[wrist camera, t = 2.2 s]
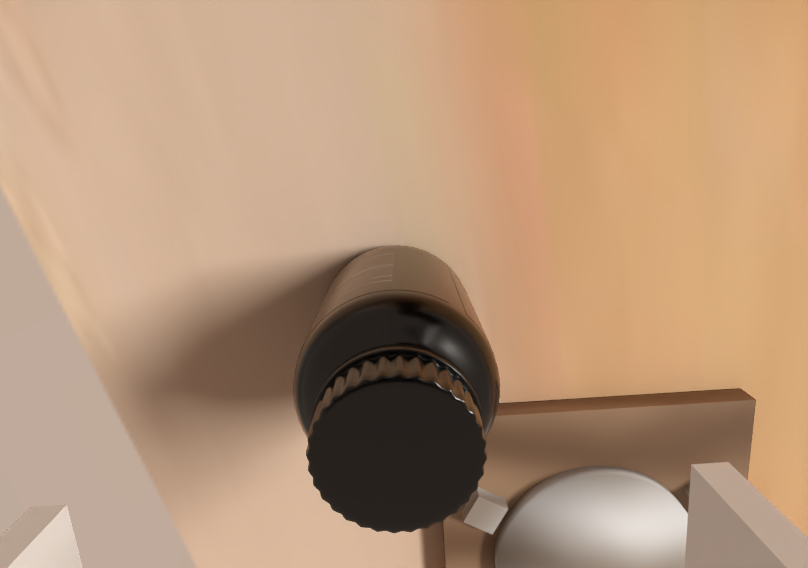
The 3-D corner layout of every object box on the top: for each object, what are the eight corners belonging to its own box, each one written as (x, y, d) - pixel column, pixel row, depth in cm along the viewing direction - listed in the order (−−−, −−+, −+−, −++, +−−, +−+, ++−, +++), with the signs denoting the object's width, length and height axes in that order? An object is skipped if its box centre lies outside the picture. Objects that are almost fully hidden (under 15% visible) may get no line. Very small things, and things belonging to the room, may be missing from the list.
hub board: (435, 407, 27) (438, 428, 25) (740, 388, 26) (766, 407, 24) (451, 661, 31) (454, 696, 29) (715, 646, 30) (736, 681, 29)
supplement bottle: (322, 374, 26) (257, 557, 15) (329, 236, 25) (261, 320, 13) (462, 385, 26) (507, 574, 15) (478, 249, 25) (543, 343, 13)
